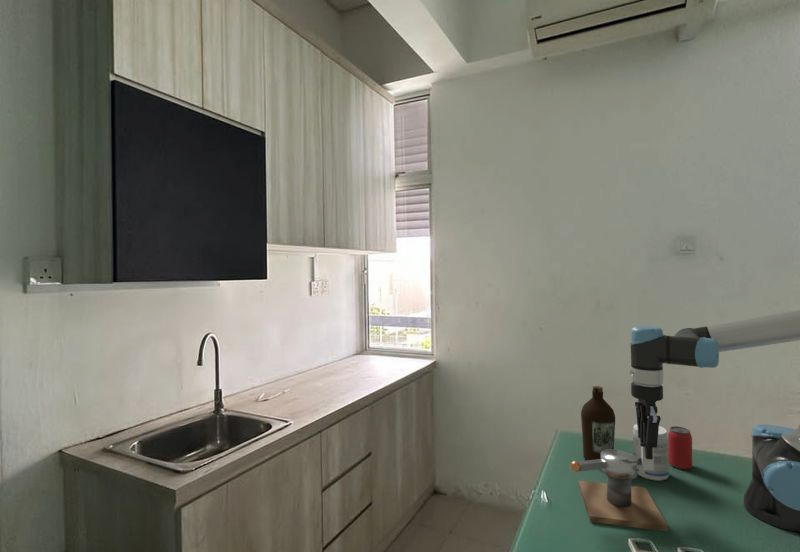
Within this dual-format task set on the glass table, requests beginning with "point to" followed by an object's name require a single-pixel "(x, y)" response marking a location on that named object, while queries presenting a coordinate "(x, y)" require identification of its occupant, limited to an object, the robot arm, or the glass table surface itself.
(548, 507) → the glass table surface
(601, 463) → the disc with handle bar
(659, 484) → the glass table surface
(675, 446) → the beer can
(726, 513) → the glass table surface
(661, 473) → the supplement tub
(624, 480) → the square wooden board
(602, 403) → the olive oil
